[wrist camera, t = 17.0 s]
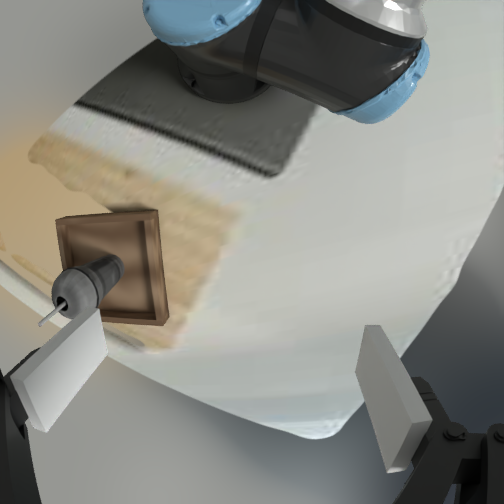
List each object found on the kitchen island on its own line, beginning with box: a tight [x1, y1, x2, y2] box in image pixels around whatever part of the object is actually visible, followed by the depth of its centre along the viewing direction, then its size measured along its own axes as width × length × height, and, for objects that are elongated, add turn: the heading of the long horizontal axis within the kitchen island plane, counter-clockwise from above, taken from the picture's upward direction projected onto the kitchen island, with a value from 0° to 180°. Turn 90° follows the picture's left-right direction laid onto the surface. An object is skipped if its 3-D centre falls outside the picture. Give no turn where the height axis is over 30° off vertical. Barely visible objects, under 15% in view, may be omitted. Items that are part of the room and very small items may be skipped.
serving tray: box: [55, 210, 169, 326], centre depth 49 cm, size 18×18×4 cm
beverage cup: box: [38, 254, 125, 326], centre depth 40 cm, size 7×7×20 cm
